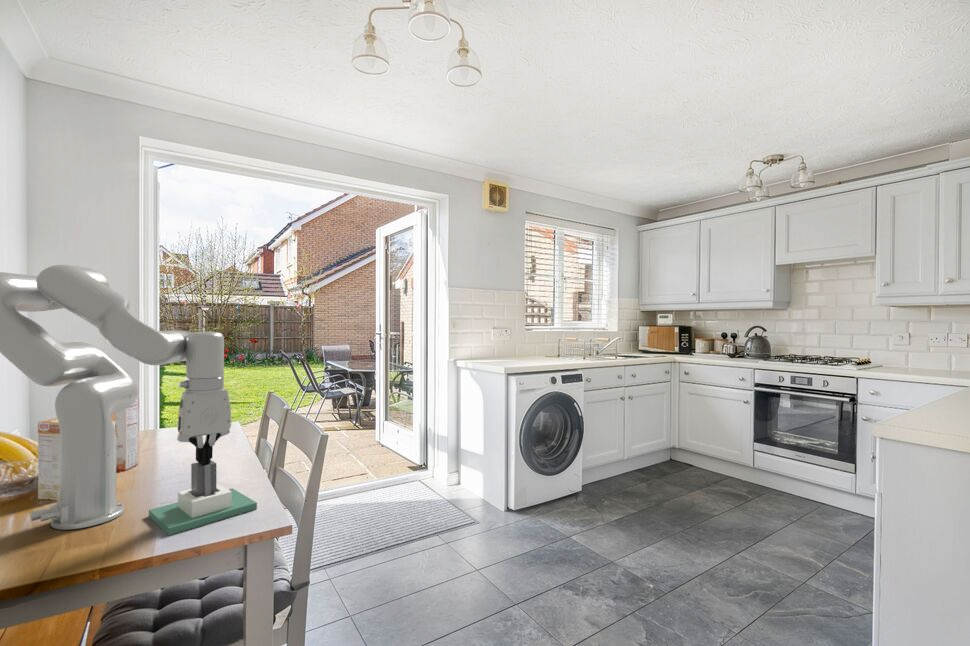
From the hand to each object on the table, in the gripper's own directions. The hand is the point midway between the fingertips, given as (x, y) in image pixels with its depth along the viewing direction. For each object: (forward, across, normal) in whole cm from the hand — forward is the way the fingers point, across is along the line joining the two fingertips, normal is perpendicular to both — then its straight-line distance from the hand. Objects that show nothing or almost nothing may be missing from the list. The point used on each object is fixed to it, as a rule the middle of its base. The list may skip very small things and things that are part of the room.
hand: (204, 462), depth 108 cm
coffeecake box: (+12, -16, +40) cm, 45 cm away
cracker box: (+12, -7, +55) cm, 57 cm away
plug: (+10, 0, 0) cm, 10 cm away
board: (+12, 0, 0) cm, 12 cm away
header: (+10, 0, -1) cm, 10 cm away
